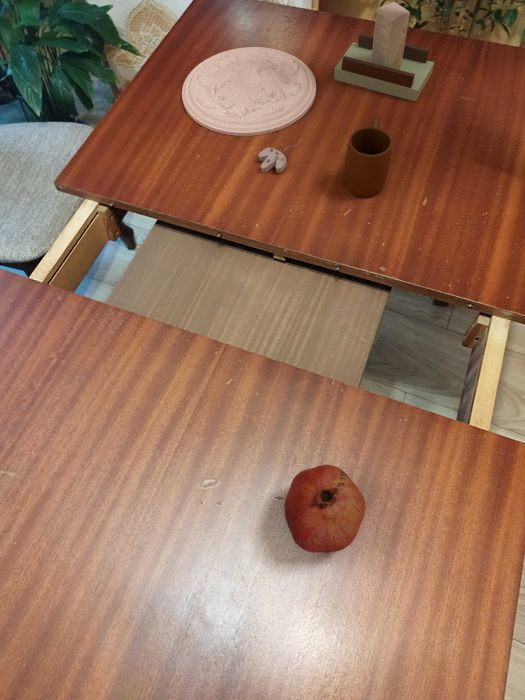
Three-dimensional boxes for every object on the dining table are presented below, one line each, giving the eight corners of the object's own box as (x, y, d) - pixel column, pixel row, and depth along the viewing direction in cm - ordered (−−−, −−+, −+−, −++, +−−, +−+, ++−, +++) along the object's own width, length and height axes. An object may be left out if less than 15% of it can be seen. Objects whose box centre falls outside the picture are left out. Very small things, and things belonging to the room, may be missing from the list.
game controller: (252, 169, 102) (251, 158, 100) (279, 132, 107) (279, 120, 105) (279, 178, 101) (279, 167, 98) (305, 140, 105) (306, 128, 103)
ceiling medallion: (327, 57, 118) (328, 43, 115) (299, 144, 105) (300, 130, 102) (205, 44, 122) (203, 30, 120) (164, 126, 109) (160, 112, 107)
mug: (350, 150, 103) (355, 106, 95) (390, 155, 102) (399, 112, 94) (339, 195, 98) (344, 153, 90) (382, 201, 97) (390, 159, 88)
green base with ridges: (431, 73, 114) (437, 50, 109) (415, 101, 109) (420, 78, 105) (351, 53, 118) (354, 30, 114) (333, 79, 114) (335, 56, 110)
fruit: (311, 462, 74) (313, 436, 65) (375, 504, 71) (387, 482, 62) (266, 528, 70) (262, 510, 61) (332, 576, 67) (338, 564, 58)
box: (401, 68, 111) (412, 12, 101) (384, 76, 110) (393, 20, 100) (385, 55, 113) (394, 0, 104) (369, 63, 112) (376, 7, 103)
